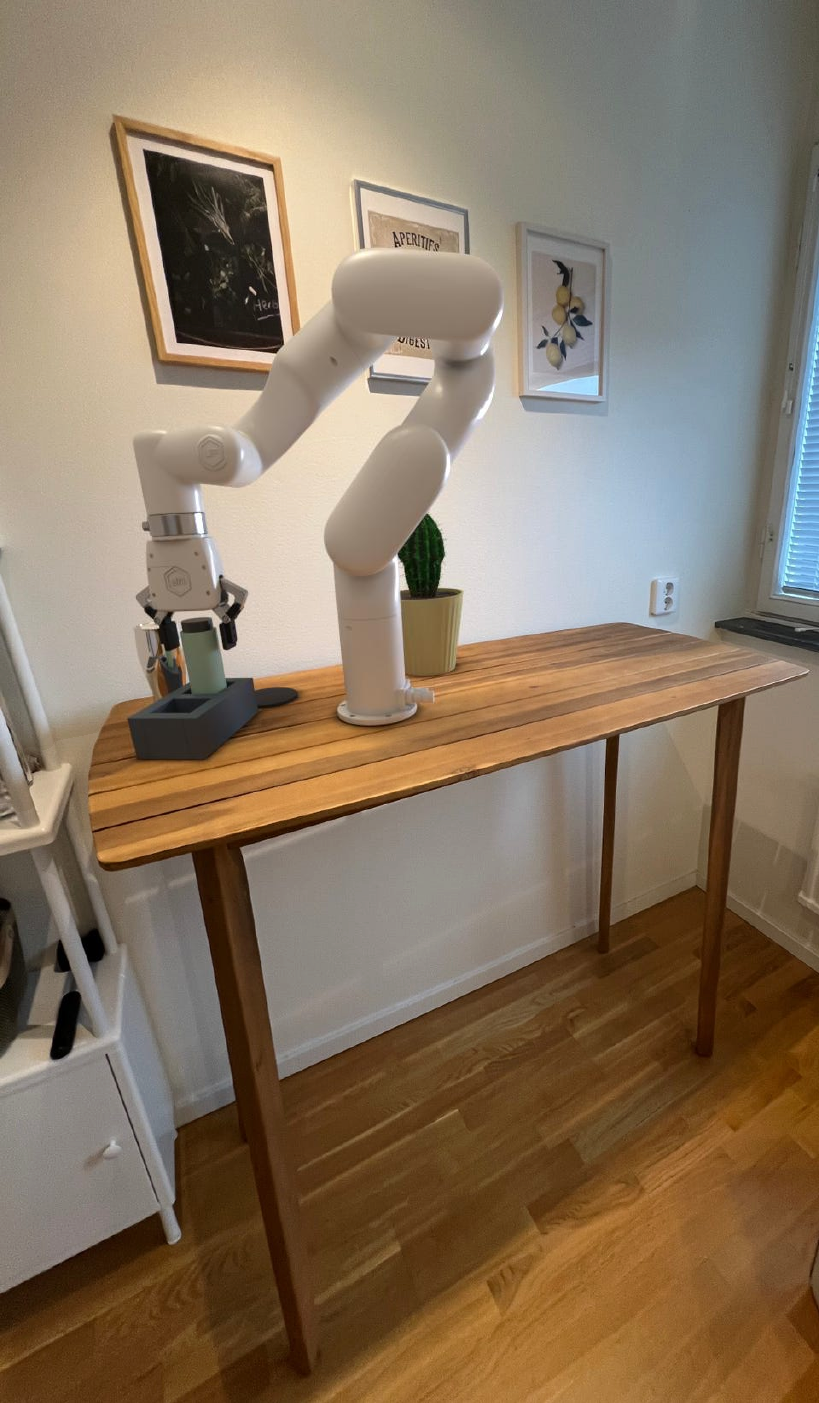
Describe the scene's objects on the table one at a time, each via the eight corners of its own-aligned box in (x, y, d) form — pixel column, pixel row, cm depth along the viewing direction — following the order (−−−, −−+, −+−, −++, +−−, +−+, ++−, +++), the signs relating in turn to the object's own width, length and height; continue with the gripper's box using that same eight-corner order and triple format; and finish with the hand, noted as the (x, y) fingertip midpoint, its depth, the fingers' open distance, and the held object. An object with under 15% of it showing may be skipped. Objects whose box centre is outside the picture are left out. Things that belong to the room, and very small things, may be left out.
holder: (258, 712, 90) (253, 677, 88) (204, 759, 73) (196, 718, 71) (202, 712, 92) (195, 678, 90) (136, 759, 75) (126, 718, 73)
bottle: (238, 717, 88) (221, 615, 83) (223, 730, 83) (204, 622, 78) (208, 717, 89) (189, 617, 84) (192, 730, 84) (170, 623, 79)
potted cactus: (459, 655, 117) (455, 506, 107) (471, 675, 103) (468, 505, 93) (387, 660, 116) (376, 511, 107) (389, 681, 102) (377, 511, 92)
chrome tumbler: (180, 720, 89) (161, 629, 84) (142, 719, 90) (121, 629, 85) (204, 705, 95) (187, 620, 90) (168, 705, 96) (150, 620, 91)
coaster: (305, 689, 101) (305, 686, 101) (286, 708, 91) (285, 705, 91) (254, 689, 102) (253, 687, 102) (229, 708, 93) (229, 705, 93)
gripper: (105, 532, 74) (133, 656, 80) (224, 525, 72) (245, 654, 77) (138, 530, 81) (162, 643, 87) (248, 524, 79) (265, 641, 84)
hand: (201, 648), depth 82 cm, fingers open, 8 cm apart
